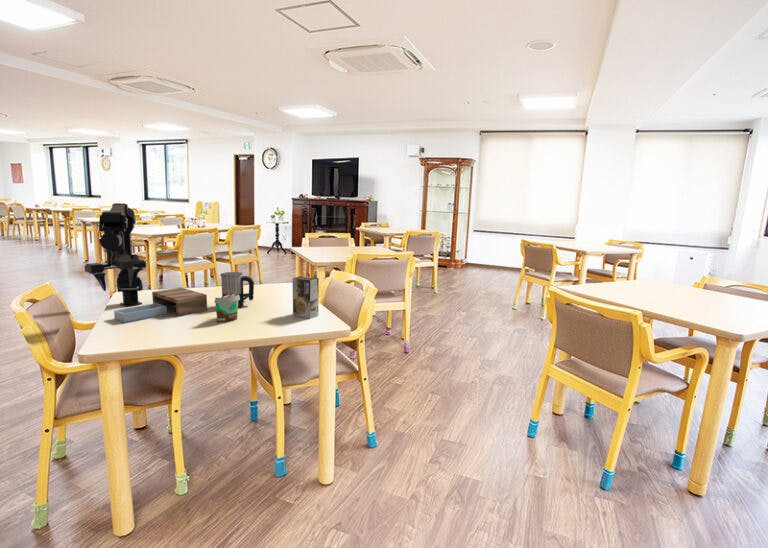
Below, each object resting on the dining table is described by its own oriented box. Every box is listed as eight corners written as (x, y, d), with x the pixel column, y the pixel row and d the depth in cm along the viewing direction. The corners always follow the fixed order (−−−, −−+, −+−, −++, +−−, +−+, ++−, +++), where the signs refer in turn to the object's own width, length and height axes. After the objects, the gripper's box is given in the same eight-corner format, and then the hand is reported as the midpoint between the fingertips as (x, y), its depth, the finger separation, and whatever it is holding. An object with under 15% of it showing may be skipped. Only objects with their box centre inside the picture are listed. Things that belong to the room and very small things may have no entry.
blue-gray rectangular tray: (114, 319, 162) (114, 310, 162) (156, 311, 175) (156, 302, 174) (124, 323, 158) (123, 314, 157) (166, 314, 171) (166, 306, 170)
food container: (229, 324, 161) (228, 299, 159) (215, 323, 162) (214, 297, 160) (246, 316, 173) (245, 292, 171) (232, 314, 174) (232, 291, 172)
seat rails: (165, 307, 181) (164, 304, 181) (181, 304, 187) (181, 301, 187) (182, 313, 173) (182, 310, 173) (199, 310, 179) (199, 306, 179)
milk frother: (223, 309, 181) (222, 276, 178) (215, 301, 194) (214, 269, 191) (257, 306, 189) (256, 273, 186) (247, 298, 202) (246, 268, 199)
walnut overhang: (153, 307, 180) (152, 291, 178) (181, 302, 190) (180, 287, 189) (178, 316, 168) (177, 299, 167) (207, 310, 179) (206, 294, 177)
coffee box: (319, 315, 178) (319, 277, 175) (310, 319, 173) (310, 280, 170) (301, 312, 182) (301, 275, 179) (292, 315, 176) (292, 277, 173)
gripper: (97, 251, 141) (100, 296, 143) (153, 246, 156) (155, 288, 159) (82, 247, 147) (85, 291, 149) (137, 244, 162) (140, 284, 165)
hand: (118, 288), depth 156 cm, fingers open, 9 cm apart
